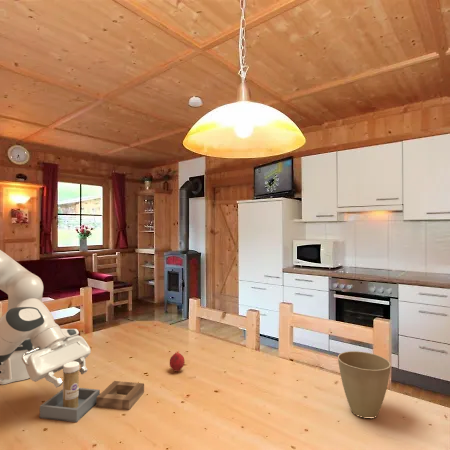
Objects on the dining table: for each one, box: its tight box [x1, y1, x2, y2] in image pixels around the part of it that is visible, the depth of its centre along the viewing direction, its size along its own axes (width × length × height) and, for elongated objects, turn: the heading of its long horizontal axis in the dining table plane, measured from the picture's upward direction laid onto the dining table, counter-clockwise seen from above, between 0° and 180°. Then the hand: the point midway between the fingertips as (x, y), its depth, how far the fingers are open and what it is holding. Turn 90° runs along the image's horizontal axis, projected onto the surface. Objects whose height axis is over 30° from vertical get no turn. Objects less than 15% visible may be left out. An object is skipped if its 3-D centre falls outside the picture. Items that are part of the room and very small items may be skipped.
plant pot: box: [337, 350, 392, 417], centre depth 99 cm, size 15×15×16 cm
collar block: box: [95, 380, 145, 411], centre depth 106 cm, size 11×11×3 cm
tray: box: [39, 387, 101, 423], centre depth 100 cm, size 12×12×4 cm
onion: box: [169, 350, 186, 373], centre depth 127 cm, size 6×6×8 cm
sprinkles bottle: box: [62, 361, 80, 408], centre depth 100 cm, size 5×5×14 cm
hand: (72, 378), depth 100 cm, fingers open, 8 cm apart
